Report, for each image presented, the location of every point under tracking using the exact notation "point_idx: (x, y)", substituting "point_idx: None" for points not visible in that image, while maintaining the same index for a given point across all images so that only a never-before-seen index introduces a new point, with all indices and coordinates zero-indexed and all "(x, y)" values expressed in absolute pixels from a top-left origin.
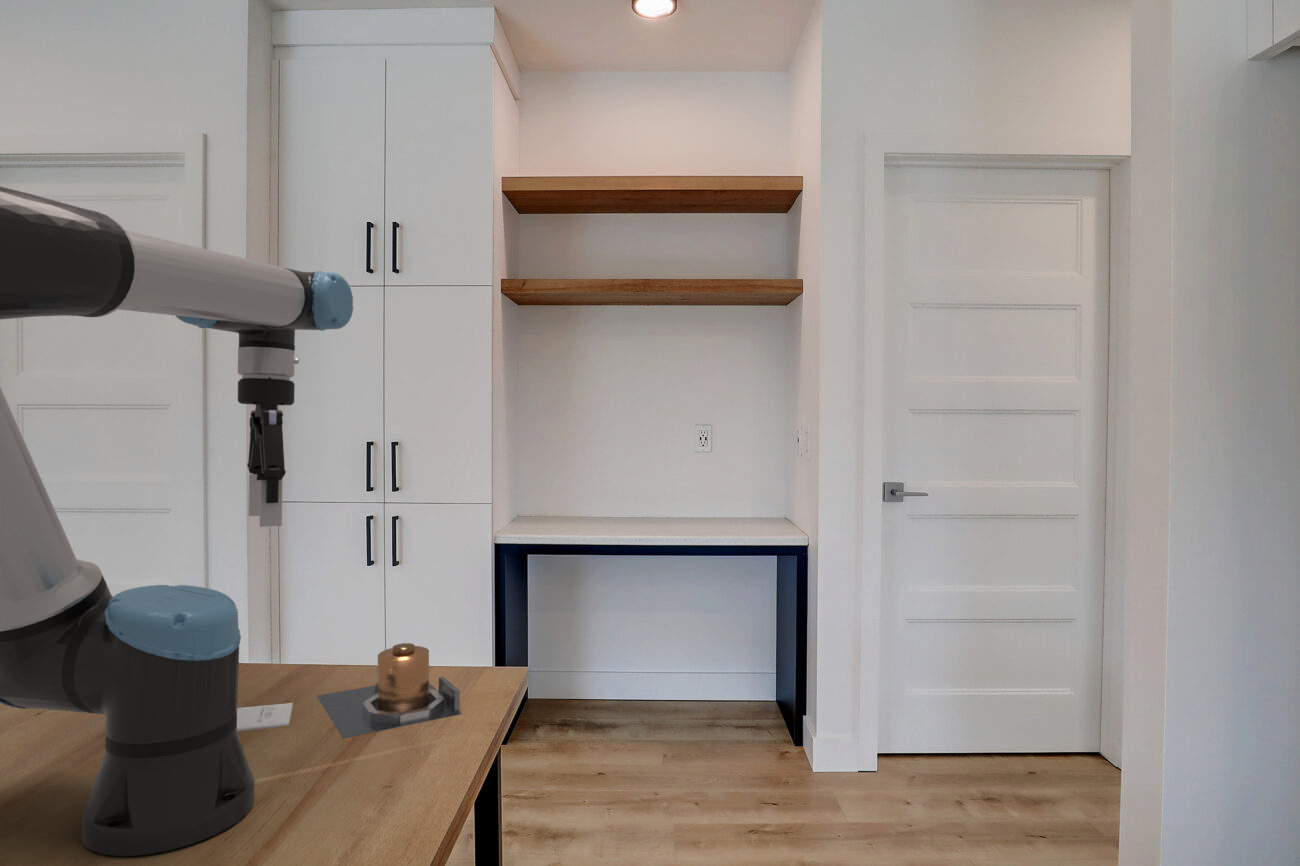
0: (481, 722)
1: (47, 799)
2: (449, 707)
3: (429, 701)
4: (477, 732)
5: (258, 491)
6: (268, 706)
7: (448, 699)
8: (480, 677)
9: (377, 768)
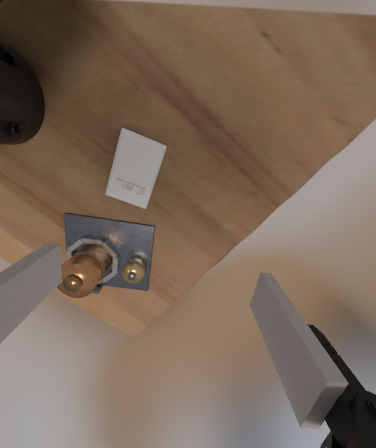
0: None
1: (63, 23)
2: None
3: None
4: None
5: (280, 337)
6: (145, 192)
7: None
8: (131, 315)
9: (16, 214)
